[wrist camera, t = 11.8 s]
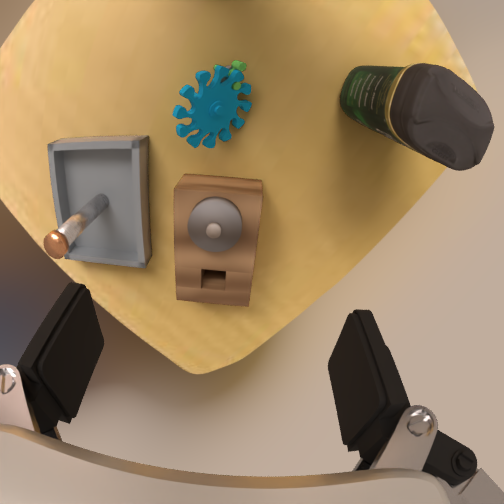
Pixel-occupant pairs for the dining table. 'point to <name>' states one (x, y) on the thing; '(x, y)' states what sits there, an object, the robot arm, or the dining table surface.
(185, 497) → the robot arm
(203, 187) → the tensioner block
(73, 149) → the tray
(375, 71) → the coffee jar
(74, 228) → the pin
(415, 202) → the dining table surface
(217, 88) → the gear
